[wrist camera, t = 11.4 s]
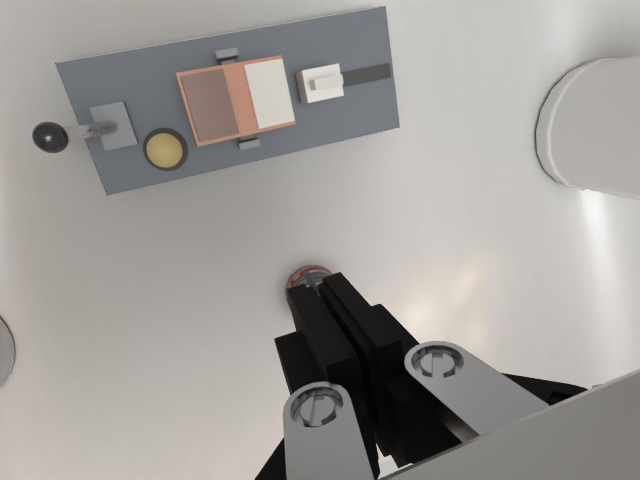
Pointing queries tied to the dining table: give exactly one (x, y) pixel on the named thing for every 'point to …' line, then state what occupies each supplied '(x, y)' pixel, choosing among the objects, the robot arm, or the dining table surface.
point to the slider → (320, 83)
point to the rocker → (236, 99)
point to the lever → (67, 134)
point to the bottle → (594, 128)
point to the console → (267, 41)
